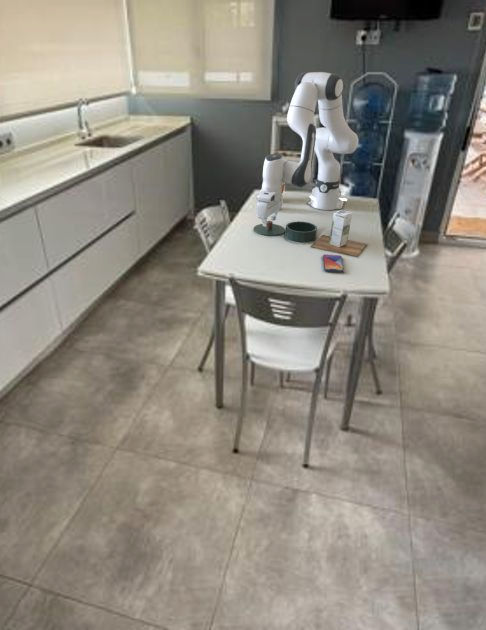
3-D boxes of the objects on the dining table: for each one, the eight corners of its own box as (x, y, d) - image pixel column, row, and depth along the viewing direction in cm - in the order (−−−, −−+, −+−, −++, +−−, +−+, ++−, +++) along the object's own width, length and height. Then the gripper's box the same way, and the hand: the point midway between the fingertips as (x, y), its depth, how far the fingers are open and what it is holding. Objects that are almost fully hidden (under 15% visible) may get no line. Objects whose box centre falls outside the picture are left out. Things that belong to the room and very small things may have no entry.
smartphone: (341, 257, 184) (341, 255, 184) (343, 273, 172) (343, 270, 171) (322, 256, 185) (323, 254, 185) (323, 271, 172) (324, 269, 172)
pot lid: (261, 223, 217) (262, 214, 214) (289, 229, 211) (290, 219, 209) (247, 233, 206) (248, 223, 204) (277, 239, 200) (277, 229, 198)
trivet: (322, 236, 205) (322, 234, 204) (366, 244, 196) (366, 243, 196) (311, 247, 193) (311, 245, 193) (357, 257, 185) (357, 255, 185)
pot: (292, 230, 210) (293, 219, 207) (319, 236, 205) (321, 225, 202) (280, 239, 200) (281, 228, 197) (309, 246, 194) (310, 234, 192)
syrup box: (335, 240, 198) (340, 208, 191) (347, 244, 195) (352, 212, 187) (328, 244, 195) (333, 211, 187) (340, 248, 191) (345, 215, 184)
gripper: (274, 186, 208) (272, 215, 215) (255, 197, 193) (253, 228, 200) (287, 188, 206) (284, 217, 213) (268, 199, 190) (266, 230, 197)
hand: (269, 222), depth 206 cm, fingers open, 8 cm apart
